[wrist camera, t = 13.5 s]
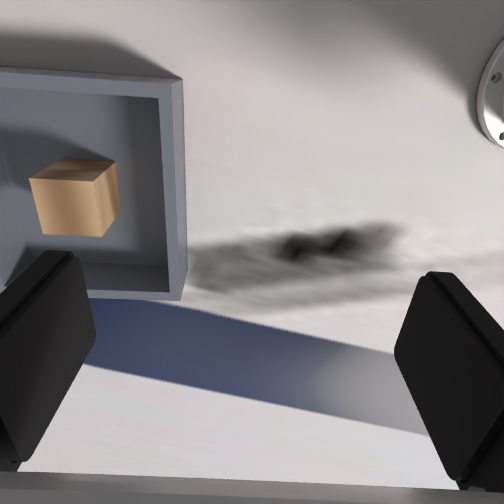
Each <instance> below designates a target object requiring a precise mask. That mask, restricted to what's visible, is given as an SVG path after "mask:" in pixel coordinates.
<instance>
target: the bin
mask: <svg viewBox="0 0 504 504" xmlns="http://www.w3.org/2000/svg"><path fill="white" fill-rule="evenodd" d="M60 159H79V160H96V161H114V162H116V167H117V175H118V183H119V191H120V199H121V206H122V211H121V212H120V213H119V215H118V216H117V217H116V219H115V220H114V221H113V223H112V224H111V225H110V227H109V228H108V229H107V231H106V232H105V233H104V235H103V236H102V237H97V236H74V235H51V234H43V232H42V228H41V224H40V220H39V216H38V212H37V208H36V204H35V200H34V196H33V192H32V188H31V185H30V181H29V178H30V177H32V176H33V175H35V174H37V173H39V172H40V171H42V170H44V169H45V168H47V167H49V166H50V165H52V164H54V163H55V162H57V161H59V160H60ZM46 250H61V251H71V252H72V253H73V255H74V257H78V258H79V259H80V262H81V266H82V271H83V275H84V280H85V284H86V289H87V294H88V298H111V299H140V300H168V301H180V300H181V296H182V292H183V287H184V283H185V279H186V275H187V271H188V257H187V219H186V181H185V143H184V104H183V79H174V78H160V77H147V76H133V75H119V74H106V73H92V72H78V71H65V70H51V69H37V68H24V67H10V66H0V293H1V292H2V291H3V290H4V289H6V288H7V287H8V286H9V285H10V284H11V283H12V282H13V281H14V280H15V279H16V278H17V277H18V276H19V275H20V274H21V273H22V272H23V271H24V270H26V269H27V268H28V267H29V266H30V265H31V264H32V263H33V262H34V261H35V260H36V259H37V258H38V257H39V256H40V255H41V254H42V253H43V252H45V251H46Z"/></svg>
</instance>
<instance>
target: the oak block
mask: <svg viewBox="0 0 504 504" xmlns="http://www.w3.org/2000/svg"><path fill="white" fill-rule="evenodd" d="M29 181H30V185H31V188H32V192H33V196H34V200H35V204H36V208H37V212H38V216H39V220H40V224H41V228H42V232H43V234H51V235H74V236H97V237H102V236H103V235H104V233H105V232H106V231H107V229H108V228H109V227H110V225H111V224H112V223H113V221H114V220H115V219H116V217H117V216H118V215H119V213H120V212H121V211H122V206H121V199H120V191H119V183H118V175H117V167H116V162H114V161H96V160H79V159H60V160H59V161H57V162H55V163H54V164H52V165H50V166H49V167H47V168H45V169H44V170H42V171H40V172H39V173H37V174H35V175H33V176H32V177H30V178H29Z"/></svg>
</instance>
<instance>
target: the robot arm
mask: <svg viewBox="0 0 504 504" xmlns="http://www.w3.org/2000/svg"><path fill="white" fill-rule="evenodd" d="M492 76H493V77H492ZM477 114H478V120H479V123H480V125H481V128H482V130H483V132H484V133H485V135H486V136H487V137H488V139H489V140H490V141H492V142H493V143H494V144H496V145H497V146H499V147H501V148H504V39H503V40H502V42H501V43H500V44H499V46H498V47H497V48H496V50H495V51H494V53H493V54H492V56H491V58H490V60H489V62H488V63H487V65H486V68H485V70H484V73H483V75H482V78H481V80H480V85H479V89H478V94H477ZM95 337H96V331H95V326H94V321H93V317H92V312H91V308H90V303H89V298H88V294H87V289H86V284H85V280H84V275H83V271H82V266H81V262H80V259H79V258H78V257H74V255H73V253H72V252H71V251H61V250H46V251H45V252H43V253H42V254H41V255H40V256H39V257H38V258H37V259H36V260H35V261H34V262H33V263H32V264H31V265H30V266H29V267H28V268H27V269H26V270H24V271H23V272H22V273H21V274H20V275H19V276H18V277H17V278H16V279H15V280H14V281H13V282H12V283H11V284H10V285H9V286H8V287H7V288H6V289H4V290H3V291H2V292H1V293H0V504H504V330H503V329H502V327H501V326H500V325H499V324H498V323H497V322H496V321H495V320H494V318H493V317H492V316H491V315H490V314H489V313H488V312H487V311H486V309H485V308H484V307H483V306H482V305H481V304H480V303H479V301H478V300H477V299H476V298H475V297H474V296H473V295H472V294H471V292H470V291H469V290H468V289H467V288H466V287H465V286H464V285H463V283H462V282H461V281H460V280H459V279H458V278H457V277H456V276H455V275H454V274H453V273H450V272H433V271H430V272H428V273H427V274H426V275H425V276H422V277H421V278H420V279H419V281H418V283H417V286H416V289H415V292H414V294H413V297H412V300H411V303H410V305H409V308H408V311H407V314H406V317H405V319H404V322H403V325H402V328H401V330H400V333H399V336H398V339H397V341H396V344H395V347H394V356H395V360H396V362H397V364H398V366H399V369H400V371H401V373H402V375H403V378H404V380H405V382H406V384H407V387H408V388H409V391H410V393H411V395H412V398H413V400H414V402H415V404H416V406H417V409H418V411H419V413H420V415H421V418H422V420H423V422H424V424H425V426H426V429H427V431H428V433H429V435H430V438H431V440H432V442H433V444H434V446H435V449H436V451H437V453H438V455H439V457H440V460H441V462H442V464H443V466H444V469H445V471H446V473H447V475H448V476H449V477H450V479H452V480H455V481H456V483H457V485H458V487H459V489H460V490H448V489H427V488H406V487H386V486H365V485H344V484H323V483H300V482H277V481H254V480H230V479H207V478H183V477H157V476H130V475H104V474H77V473H50V472H17V470H18V468H19V466H20V465H21V463H22V462H26V461H28V460H29V459H30V458H31V456H32V454H33V453H34V451H35V449H36V447H37V446H38V444H39V442H40V440H41V438H42V437H43V435H44V433H45V431H46V429H47V428H48V426H49V424H50V422H51V420H52V418H53V417H54V415H55V413H56V411H57V409H58V408H59V406H60V404H61V402H62V400H63V399H64V397H65V395H66V393H67V391H68V390H69V388H70V386H71V384H72V382H73V381H74V379H75V377H76V375H77V373H78V371H79V370H80V368H81V366H82V364H83V362H84V361H85V359H86V357H87V355H88V353H89V351H90V350H91V348H92V346H93V344H94V342H95Z"/></svg>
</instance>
